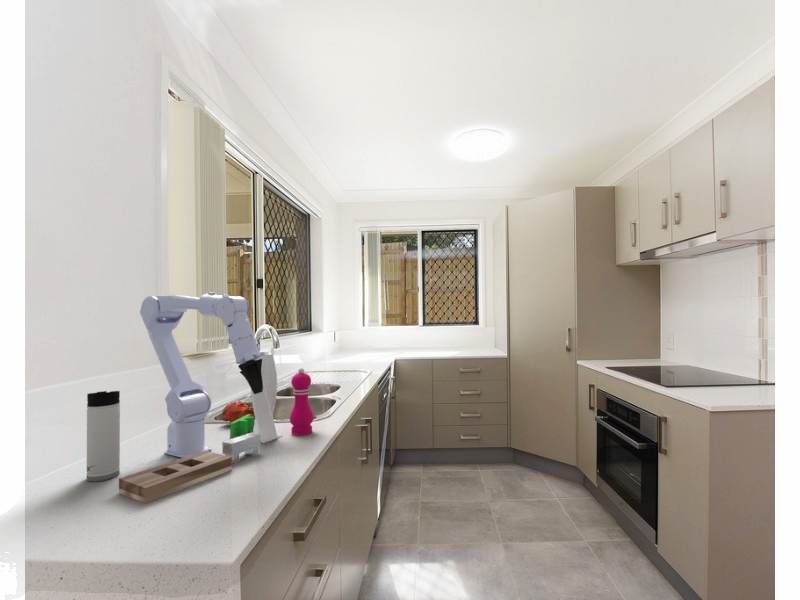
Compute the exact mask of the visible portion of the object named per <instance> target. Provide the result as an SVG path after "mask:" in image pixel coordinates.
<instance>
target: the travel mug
mask: <svg viewBox="0 0 800 600" xmlns="http://www.w3.org/2000/svg"><path fill="white" fill-rule="evenodd" d="M86 395H87V397H86V399H87V404H86V481H88V482H91V481H92V482H95V483H97V482H103V481H107V480H111V479H113V478H116V477H117V476H119V474H120V472H121V471H120V468H121V467H120V466H121V465H120V463H121V462H120V459H121V456H120V454H121V451H120V450H121V446H120V445H121V444H120V443H121V441H120V440H121V430H120V429H121V425H120V424H121V415H120V414H121V405H120V404H121V399H120V396H121V394H120V390H113V391H111V390H110V391H109V392H108V391H107V390H105V391H104V390H103V391H97V392H90V393H86Z"/></svg>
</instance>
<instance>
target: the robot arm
mask: <svg viewBox="0 0 800 600" xmlns="http://www.w3.org/2000/svg"><path fill="white" fill-rule="evenodd" d="M188 310H197V311H198V313H199V314H201V315H202V316H207V317H215V318H219V319H221V321H222V324H223V326H225V328H226V331H227V335H228V338H229V341H230V345H231V347H232V350H233V355H234V358H235V364H236V365H237V366H238V369H240V371H239V373H240V374H241V376H242V377H244V379H245V380H246V382H247V383H248V386H249V387H250V390H251V389H252V391H253V393H254V394H257V393H260V392H262V390H263V381H262V374H261V367H262V359H259V360H257V359H258V358H259V357H261V356H263V355H265V353H264V352H260V353H259V351H260V350H259V348H258V343H257V342H256V339H255V335H254V331H253V328H252V325H251V323H250V322H251V321H250V319H249V316H248V315H249V313H250V303H249V301H248V299H246V298H245V297H242V296H241V295H239V296H230V294H226V293H224V294H222V295H221V294H220V295H219V294H217V292H213V291H211V292H207V293H206V294H203V295H201V296H200V297H195V296H188V295H181V294H180V295H178V294H177V295H176V294H171V295H169V294H168V295H156V296H152V295H150V296H149V295H148V296H146V297H145V298H144V299H143V300H142V303H141V306H140V310H139V313H140V316H141V318H142V321H143V323H144V325H145V328H146V330H147V333H148V336H149V339H150V341H151V344H152V346H153V349H154V352H155V353H156V356H157V359H158V361H159V363H160V366H161V368H162V371H163V373H164V375H165V377H166V380H167V382H168V385H169V387H170V390H169V391H168V393H167V394H166V396H165V397H164V401H165V403H166V412H167V415H168V417H169V418H170V419H171V421H170V423H169V425H168V426H167V434H166V435H167V437H166V438H167V443H166V445H167V446H166V449H167V450H165V451H163V453H164V454H166V455H169V456H174V457H177V458H180V459H181V458H184V457H187V456H190V455H194V454H197V453H200V452H203V451H209V452H211V451H212V449H213V448H212V447H209V446H205V435H206V434H205V417H208V416H207V415H208V413H209V411H210V410H211V407H212V399H211V396H210V395H209V393H208V392H207V391H206V390H205V389H204V387H203V385H201V384H200V383H197V382H195V381H193V379H192V377H191V374H190V373H189V370H188V368H187V366H186V363H185V361H184V359H183V356H182V354H181V352H180V349H179V347H178V345H177V342H176V340H175V337H174V335H173V333H172V332H173V330H175V329H177V327H178V325H179V323H180V322H181V320H182V318H183V316H184V314H185V312H187V311H188Z"/></svg>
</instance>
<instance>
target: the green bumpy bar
mask: <svg viewBox="0 0 800 600" xmlns="http://www.w3.org/2000/svg"><path fill="white" fill-rule="evenodd" d="M254 423H255V420H254V417H251V414H248V415H246V416H244V417H242V418H240V419H238V420H236V421H234V422H232V423H231V422H229V438H230V439H233V438H236V437H239V436H242V435H246V434H249V433H248V432H253V428H254Z"/></svg>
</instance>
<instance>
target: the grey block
mask: <svg viewBox="0 0 800 600" xmlns="http://www.w3.org/2000/svg"><path fill="white" fill-rule="evenodd" d="M221 445H222V448H221V449H222V454H221V455H225V456H230V457H232V464H236V463H239V462H240V454H241V453H244V455H247V454H249V455H248V456H251V455H255V456H257V455H259V447H261V443H260V434H256V433H253V432H250V433H248V434H246V435H238V436H236V437H234V438H230V439H227V440H223V441H222V442H221ZM256 454H257V455H256ZM238 461H239V462H238ZM235 462H236V463H235Z"/></svg>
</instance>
